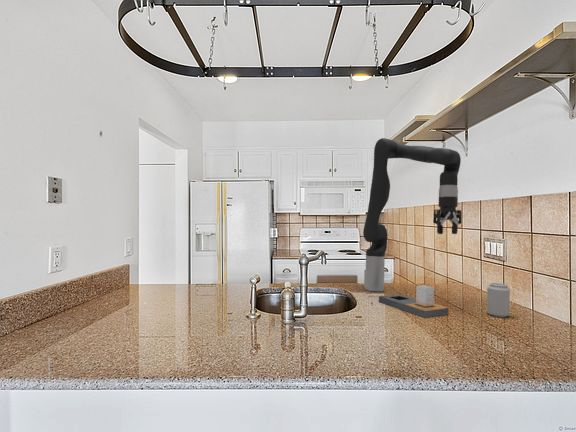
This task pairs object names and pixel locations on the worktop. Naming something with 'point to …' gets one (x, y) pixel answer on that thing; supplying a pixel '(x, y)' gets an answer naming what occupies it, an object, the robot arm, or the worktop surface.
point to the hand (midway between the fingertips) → (447, 234)
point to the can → (498, 299)
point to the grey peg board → (413, 306)
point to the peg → (425, 296)
